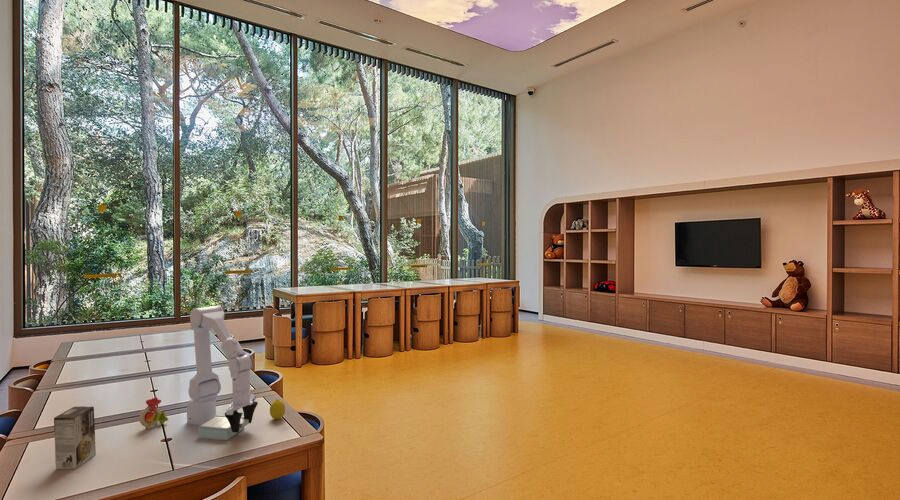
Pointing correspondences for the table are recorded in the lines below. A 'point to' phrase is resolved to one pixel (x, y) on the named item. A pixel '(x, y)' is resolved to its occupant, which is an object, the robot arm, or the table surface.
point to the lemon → (277, 409)
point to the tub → (216, 432)
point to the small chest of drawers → (224, 422)
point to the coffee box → (74, 437)
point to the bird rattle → (152, 414)
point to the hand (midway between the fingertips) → (241, 427)
